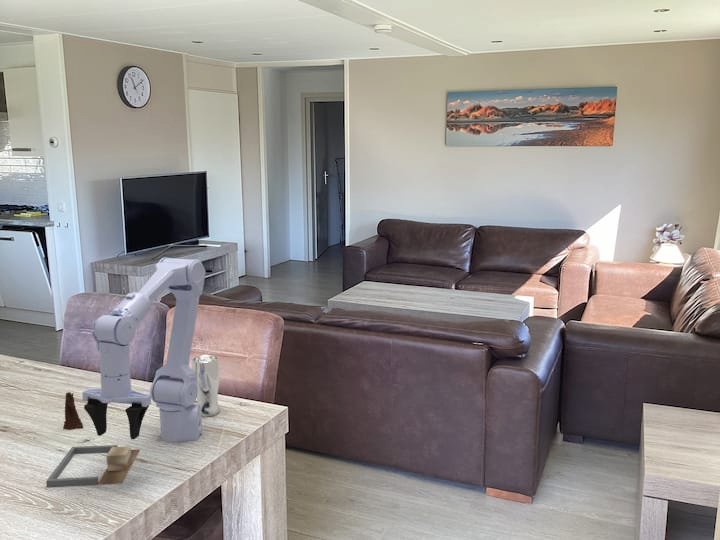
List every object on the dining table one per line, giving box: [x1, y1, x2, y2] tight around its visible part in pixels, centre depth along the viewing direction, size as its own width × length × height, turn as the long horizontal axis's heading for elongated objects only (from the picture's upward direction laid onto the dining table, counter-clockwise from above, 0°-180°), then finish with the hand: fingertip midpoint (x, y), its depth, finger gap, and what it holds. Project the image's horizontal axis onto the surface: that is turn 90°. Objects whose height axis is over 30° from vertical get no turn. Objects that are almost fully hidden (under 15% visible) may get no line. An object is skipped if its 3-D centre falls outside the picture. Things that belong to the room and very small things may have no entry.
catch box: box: [45, 444, 119, 488], centre depth 138 cm, size 10×15×3 cm, turn 5°
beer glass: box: [191, 354, 221, 418], centre depth 168 cm, size 7×7×15 cm
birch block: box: [106, 445, 132, 471], centre depth 138 cm, size 4×4×4 cm
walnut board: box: [96, 448, 141, 486], centre depth 138 cm, size 5×15×1 cm, turn 5°
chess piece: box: [63, 391, 84, 431], centre depth 158 cm, size 5×5×10 cm
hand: (118, 435), depth 133 cm, fingers open, 7 cm apart
